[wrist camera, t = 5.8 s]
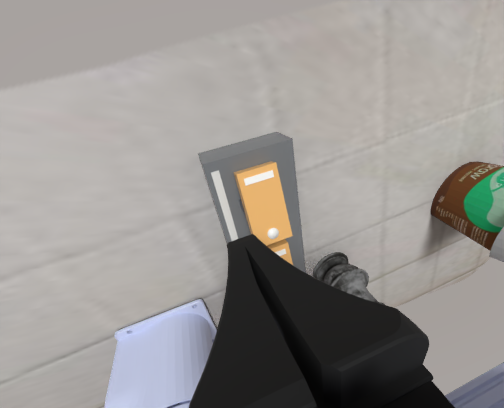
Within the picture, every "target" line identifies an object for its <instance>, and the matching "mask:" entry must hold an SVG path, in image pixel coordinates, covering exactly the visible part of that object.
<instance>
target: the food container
mask: <svg viewBox="0 0 504 408" xmlns="http://www.w3.org/2000/svg"><path fill="white" fill-rule="evenodd" d="M431 215H433V216H435V217H436V218H438V219H440V220H441V221H443V222H444V223H446V224H448V225H449V226H451V227H453V228H454V229H456V230H457V231H459V232H461V233H462V234H464V235H466V236H467V237H469V238H471V239H472V240H474V241H475V242H477V243H479V244H480V245H482V246H484V247H485V248H487V249H488V250H490V255H489V256H490V257H492V258H495V259H498V260H500V261H502V262H504V166H500V165H495V164H489V163H483V162H469V163H467V164H464V165H462V166H461V167H459V168H458V169H456V170H455V171H454V172H453V173H452V174H450V175H449V176H448V178H447V179H446V180H445V181H444V182H443V184H442V185H441V186H440V188H439V189H438V191H437V193H436V195H435V197H434V200H433V203H432V206H431Z"/></svg>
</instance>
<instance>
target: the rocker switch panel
mask: <svg viewBox="0 0 504 408" xmlns="http://www.w3.org/2000/svg"><path fill="white" fill-rule="evenodd" d="M198 155H199V158H200V161H201V164H202V167H203V170H204V174H205V177H206V180H207V183H208V186H209V189H210V192H211V195H212V198H213V202H214V205H215V208H216V211H217V214H218V217H219V220H220V223H221V226H222V229H223V233H224V236H225V239H226V242H227V244H228V242H231V241H234V240H237V239H239V238H242V237H245V236H248V235H251V232H250V229H249V225H248V222H247V218H246V215H245V211H244V208H243V204H242V201H241V197H240V194H239V190H238V187H237V183H236V180H235V176H234V172H237V171H240V170H244V169H247V168H250V167H254V166H257V165H260V164H264V163H267V162H270V161H272V162H276V164H277V169H278V173H279V177H280V182H281V186H282V191H283V195H284V200H285V204H286V209H287V213H288V218H289V222H290V226H291V231H292V235H293V236H291V237H288V238H286V239H285V240H286V241H287V242H288V244H289V249H290V253H291V258H292V262H293V266H295V267H296V268H298V269H300V270H301V271H303V272H305V273H306V270H305V260H304V250H303V240H302V230H301V220H300V210H299V201H298V191H297V181H296V171H295V161H294V151H293V141H292V138H290V137H287V136H285V135H283V134H281V133H278V132H274V133H271V134H267V135H264V136H260V137H256V138H253V139H249V140H246V141H242V142H239V143H235V144H231V145H228V146H224V147H221V148H217V149H213V150H210V151H206V152H203V153H199V154H198Z"/></svg>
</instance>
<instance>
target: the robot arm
mask: <svg viewBox="0 0 504 408" xmlns="http://www.w3.org/2000/svg"><path fill="white" fill-rule="evenodd" d="M227 248H228V278H227V286H226V293H225V299H224V304H223V309H222V314H221V318H220V321H219V325H218V329H216V327H215V325H214V323H213V321H212V319H211V317H210V315H209V312H208V310H207V308H206V306H205V304H204V302H203V300H202V299H197V300H195V301H192V302H190V303H187V304H184V305H182V306H179V307H177V308H174V309H172V310H169V311H166V312H164V313H161V314H159V315H156V316H154V317H151V318H149V319H146V320H143V321H141V322H138V323H136V324H133V325H131V326H128V327H125V328H123V329H120V330H118V331H116V332H115V338H116V339H117V340H118V343H117V347H116V352H115V357H114V362H113V367H112V371H111V376H110V381H109V386H108V390H107V395H106V400H105V407H104V408H504V362H503V363H501V364H500V365H498V366H496V367H494V368H493V369H491V370H489V371H487V372H486V373H484V374H482V375H480V376H479V377H477V378H475V379H473V380H471V381H470V382H468V383H466V384H465V385H463V386H461V387H459V388H457V389H456V390H454V391H452V392H451V393H449V394H447V395H445V396H444V395H443V393H442V392H441V391H440V390H439V389H438V388H437V387H436V386H435V384H434V383H433V382H432V381H431V380H433V376H432V374H431V373H430V372H429V371H428V370H427V369H426V368H425V366H424V365H423V361H424V359H425V356H426V353H427V351H428V347H429V340H428V337H427V336H426V334H424V333H423V332H422V331H421V330H420V329H419V328H418V327H417V326H416V325H415V324H414V323H413V322H412V321H411V320H410V319H409V318H407V317H406V316H405V315H403V314H402V313H401V312H400V311H399V310H398V309H396V308H392V307H389V306H386V305H382V304H379V303H376V302H372V301H369V300H366V299H363V298H360V297H357V296H355V295H352V294H349V293H347V292H345V291H342V290H340V289H338V288H335V287H333V286H330V285H328V284H326V283H324V282H322V281H320V280H318V279H316V278H314V277H312V276H310V275H308V274H307V273H305V272H303V271H301V270H300V269H298V268H296V267H295V266H293V265H292V264H290V263H289V262H287V261H286V260H284V259H283V258H281V257H280V256H279V255H277V254H276V253H275V252H273V251H272V250H271V249H270V248H268V247H267V246H266V245H265V244H264V243H263V242H261V241H260V240H259V239H258V238H257V237H256V236H255V235H254V234H251V235H248V236H245V237H242V238H239V239H237V240H234V241H231V242H228V244H227Z"/></svg>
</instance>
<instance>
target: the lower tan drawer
mask: <svg viewBox="0 0 504 408" xmlns="http://www.w3.org/2000/svg"><path fill="white" fill-rule="evenodd" d="M267 247H268V248H270V249H271V250H272V251H273V252H275V253H276V254H277V255H279V256H280V257H281V258H283V259H284V260H286V261H287V262H289V263H290V264H292V265H293V262H292V258H291V253H290V249H289V244H288V242H287V241H286V240H285V239H283V240H280V241H278V242H275V243H272V244H269V245H267Z"/></svg>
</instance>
